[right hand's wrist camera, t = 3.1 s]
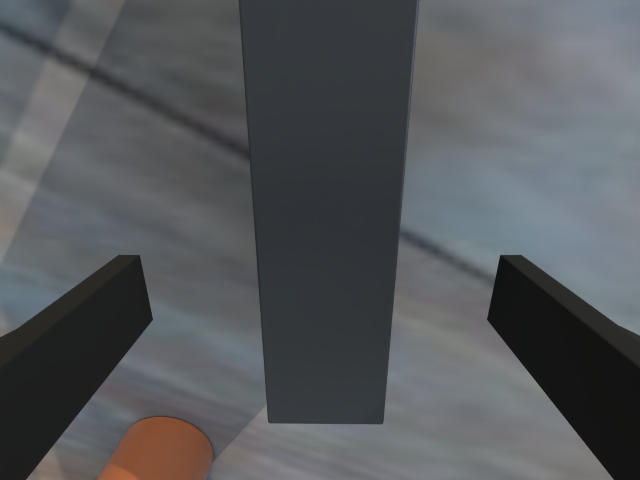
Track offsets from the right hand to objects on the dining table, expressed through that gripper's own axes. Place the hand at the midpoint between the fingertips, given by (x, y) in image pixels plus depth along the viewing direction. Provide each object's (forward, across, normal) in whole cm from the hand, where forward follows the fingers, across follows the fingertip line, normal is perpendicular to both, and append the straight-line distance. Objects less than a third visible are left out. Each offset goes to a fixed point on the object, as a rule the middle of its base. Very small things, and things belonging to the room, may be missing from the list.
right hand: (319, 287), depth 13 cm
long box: (+8, 0, -8) cm, 11 cm away
